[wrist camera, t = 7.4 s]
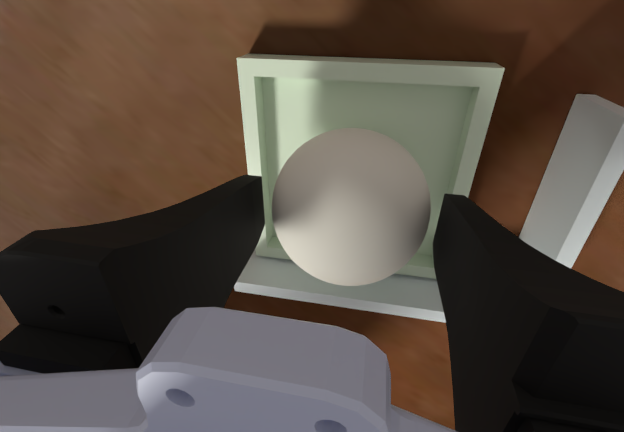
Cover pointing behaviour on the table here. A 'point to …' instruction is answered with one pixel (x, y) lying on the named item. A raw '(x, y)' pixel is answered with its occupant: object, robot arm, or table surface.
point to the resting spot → (368, 120)
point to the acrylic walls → (536, 232)
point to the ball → (351, 206)
